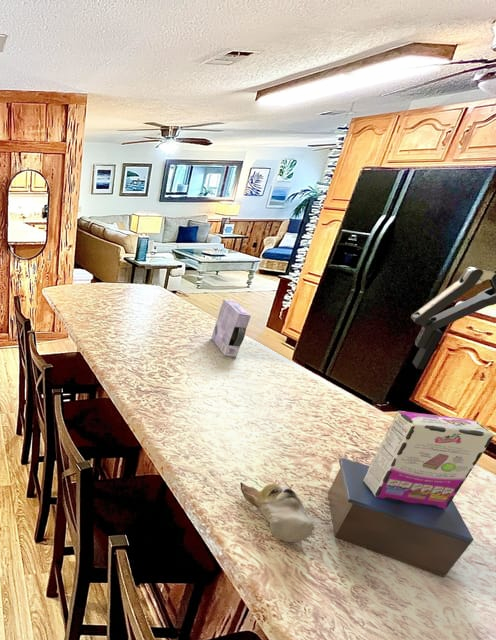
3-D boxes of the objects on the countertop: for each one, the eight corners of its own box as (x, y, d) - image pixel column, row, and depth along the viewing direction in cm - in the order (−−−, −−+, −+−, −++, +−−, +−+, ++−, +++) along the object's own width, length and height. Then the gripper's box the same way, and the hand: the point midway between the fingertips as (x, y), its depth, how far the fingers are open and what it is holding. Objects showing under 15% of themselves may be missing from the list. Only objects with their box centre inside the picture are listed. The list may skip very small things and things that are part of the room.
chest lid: (347, 502, 71) (349, 498, 71) (338, 460, 82) (340, 457, 81) (471, 543, 64) (474, 539, 63) (444, 491, 74) (446, 488, 74)
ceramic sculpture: (276, 512, 69) (244, 460, 82) (262, 547, 72) (233, 492, 86) (342, 521, 67) (298, 467, 81) (324, 557, 71) (285, 499, 84)
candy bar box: (427, 490, 73) (473, 418, 66) (446, 510, 69) (498, 435, 62) (359, 479, 76) (397, 408, 68) (374, 497, 71) (415, 424, 64)
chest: (334, 536, 75) (352, 503, 71) (327, 492, 85) (343, 461, 81) (444, 577, 68) (471, 543, 64) (421, 523, 78) (444, 491, 74)
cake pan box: (239, 359, 147) (252, 314, 139) (225, 357, 147) (237, 313, 139) (222, 339, 164) (234, 299, 156) (210, 338, 164) (221, 298, 156)
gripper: (691, 244, 49) (580, 388, 58) (427, 227, 60) (369, 350, 70) (747, 253, 43) (613, 412, 52) (443, 232, 55) (378, 365, 64)
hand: (474, 377), depth 61 cm, fingers open, 13 cm apart
